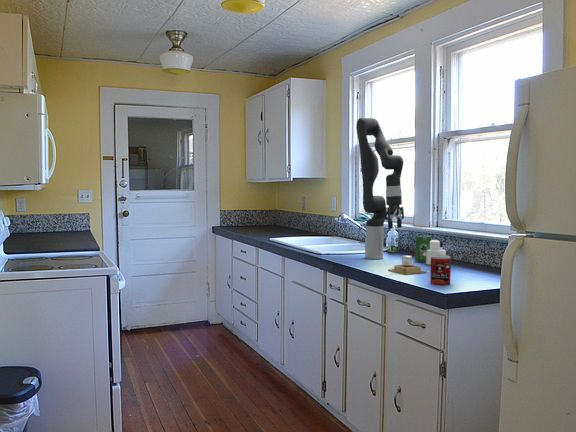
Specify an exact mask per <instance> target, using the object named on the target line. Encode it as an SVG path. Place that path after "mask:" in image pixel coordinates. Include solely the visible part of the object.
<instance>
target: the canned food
mask: <svg viewBox="0 0 576 432" xmlns="http://www.w3.org/2000/svg"><path fill="white" fill-rule="evenodd" d="M451 263H452V257H451V255H432V256H431V265H430V279H429V280H430V284H431V285H434V286H448V285H450V284H451V271H452V267H451V266H452V264H451Z"/></svg>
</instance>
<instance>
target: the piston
mask: <svg viewBox="0 0 576 432" xmlns="http://www.w3.org/2000/svg"><path fill="white" fill-rule="evenodd" d="M405 264H409V265H413V256H412V255H407V254H406V255H401V265H405Z"/></svg>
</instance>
